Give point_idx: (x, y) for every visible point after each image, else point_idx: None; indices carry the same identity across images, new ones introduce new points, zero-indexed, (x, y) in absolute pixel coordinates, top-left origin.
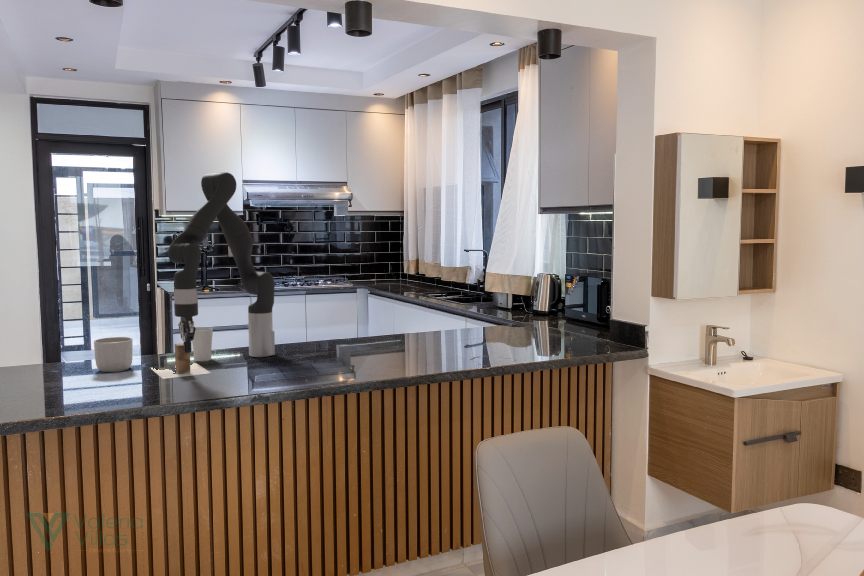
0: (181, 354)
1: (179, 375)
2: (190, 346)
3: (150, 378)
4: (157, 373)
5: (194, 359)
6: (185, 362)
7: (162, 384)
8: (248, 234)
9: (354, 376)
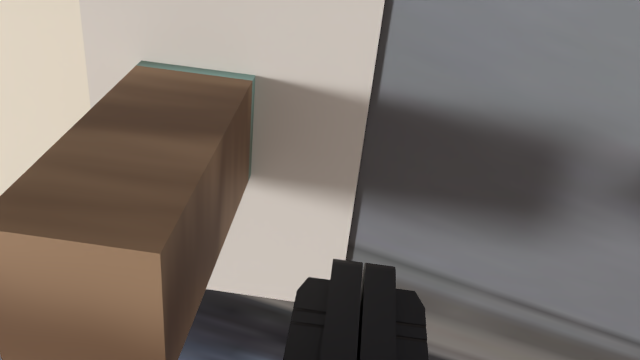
0: (201, 263)
1: (303, 186)
2: (424, 346)
3: (249, 343)
4: None
5: None
6: (227, 169)
7: (493, 355)
8: None
9: None
